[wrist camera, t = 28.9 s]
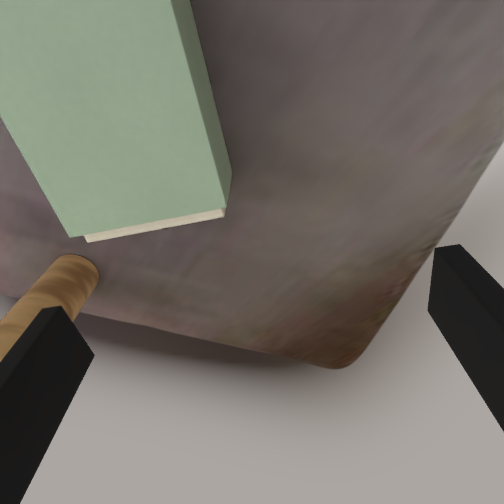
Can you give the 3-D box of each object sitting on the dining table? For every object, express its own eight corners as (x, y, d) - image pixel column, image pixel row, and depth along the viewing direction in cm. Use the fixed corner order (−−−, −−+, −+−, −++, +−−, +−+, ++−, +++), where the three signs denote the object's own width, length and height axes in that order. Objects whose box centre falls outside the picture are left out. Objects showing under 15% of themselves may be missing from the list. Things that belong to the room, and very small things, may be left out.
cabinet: (232, 173, 34) (227, 207, 27) (106, 199, 35) (69, 238, 28) (184, -22, 26) (158, -47, 19) (22, 22, 27) (-59, 15, 20)
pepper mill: (44, 258, 39) (-86, 391, 24) (86, 250, 39) (-20, 382, 24) (67, 293, 42) (-37, 432, 27) (106, 286, 42) (23, 425, 26)
